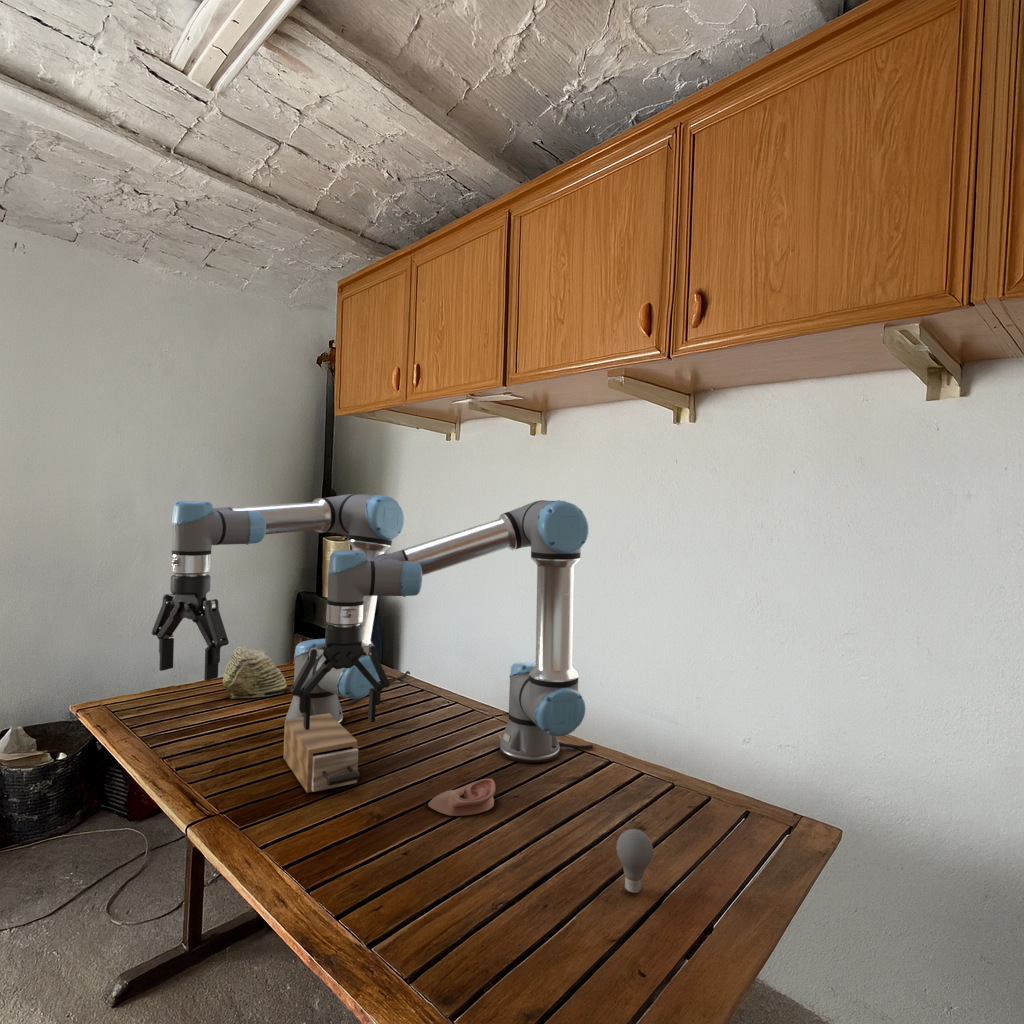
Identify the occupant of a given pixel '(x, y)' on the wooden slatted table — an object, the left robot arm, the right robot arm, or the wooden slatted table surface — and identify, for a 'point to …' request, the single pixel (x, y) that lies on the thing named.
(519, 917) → the wooden slatted table surface
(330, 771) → the drawer
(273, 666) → the fossil
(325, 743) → the cabinet
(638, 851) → the light bulb
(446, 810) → the anatomical model
